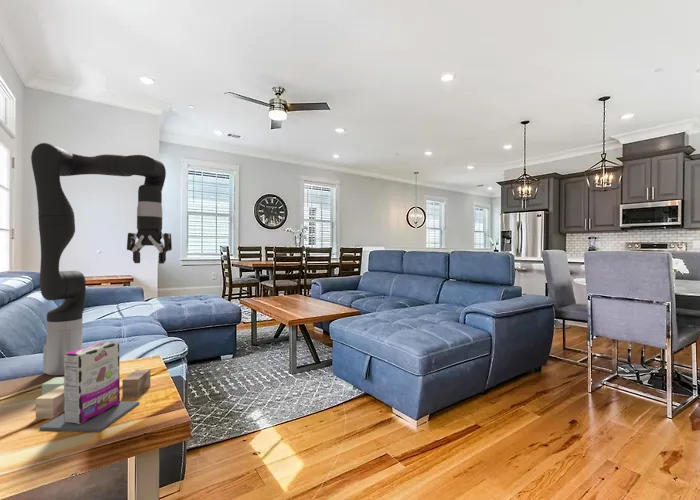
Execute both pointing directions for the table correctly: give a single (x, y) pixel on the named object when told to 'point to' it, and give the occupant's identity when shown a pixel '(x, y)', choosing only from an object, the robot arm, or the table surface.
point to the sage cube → (52, 384)
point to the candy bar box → (91, 381)
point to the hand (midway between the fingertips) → (149, 263)
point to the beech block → (50, 404)
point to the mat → (94, 423)
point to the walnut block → (136, 383)
